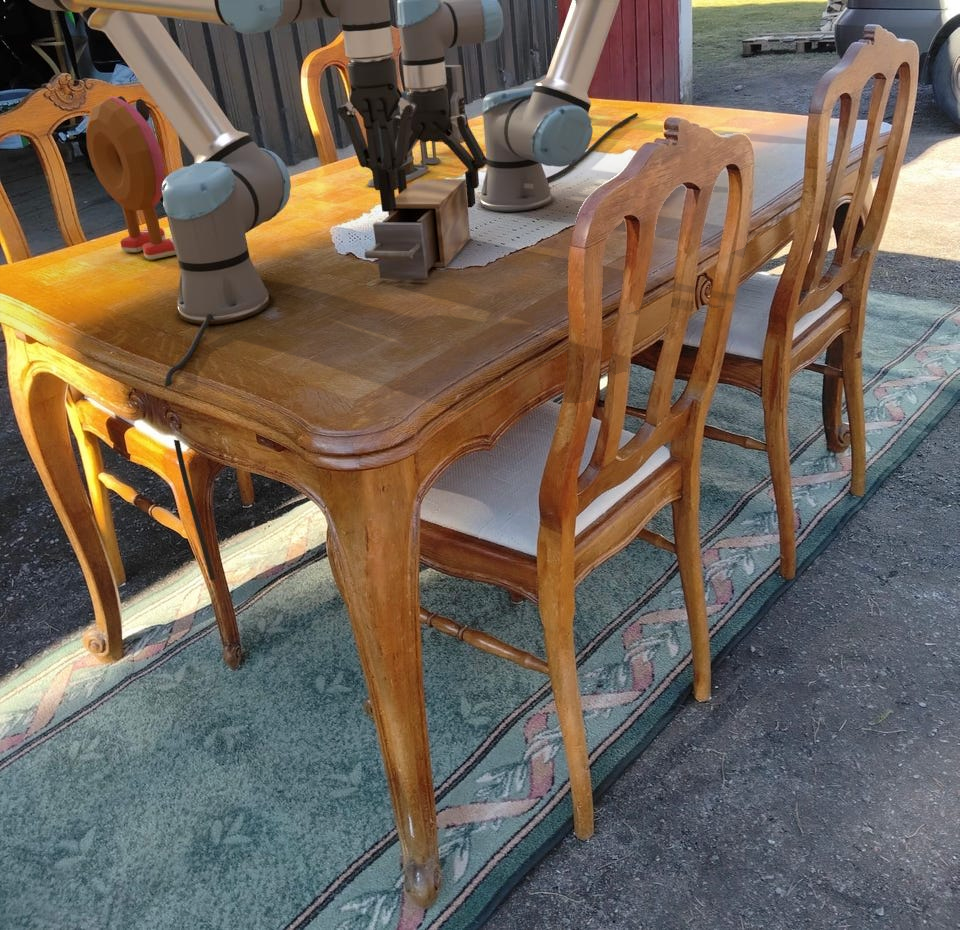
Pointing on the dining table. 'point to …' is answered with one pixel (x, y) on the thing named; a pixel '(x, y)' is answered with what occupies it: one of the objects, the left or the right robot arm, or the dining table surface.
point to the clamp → (455, 109)
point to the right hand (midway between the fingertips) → (437, 205)
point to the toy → (130, 170)
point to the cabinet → (441, 212)
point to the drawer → (406, 244)
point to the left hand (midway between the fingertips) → (389, 209)
